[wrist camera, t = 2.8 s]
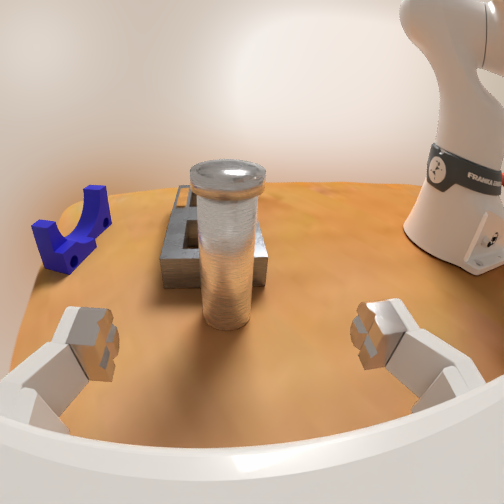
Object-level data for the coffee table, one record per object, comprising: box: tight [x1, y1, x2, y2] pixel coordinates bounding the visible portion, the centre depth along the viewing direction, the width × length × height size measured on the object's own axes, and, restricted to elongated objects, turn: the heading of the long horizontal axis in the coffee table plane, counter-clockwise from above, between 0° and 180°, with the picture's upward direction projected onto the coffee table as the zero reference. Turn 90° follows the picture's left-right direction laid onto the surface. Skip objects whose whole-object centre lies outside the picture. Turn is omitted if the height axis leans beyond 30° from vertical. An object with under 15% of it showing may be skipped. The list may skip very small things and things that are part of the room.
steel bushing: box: [190, 159, 266, 331], centre depth 23 cm, size 5×5×13 cm
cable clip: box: [31, 185, 112, 275], centre depth 33 cm, size 12×4×6 cm, turn 170°
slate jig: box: [160, 185, 268, 288], centre depth 36 cm, size 10×19×4 cm, turn 6°
